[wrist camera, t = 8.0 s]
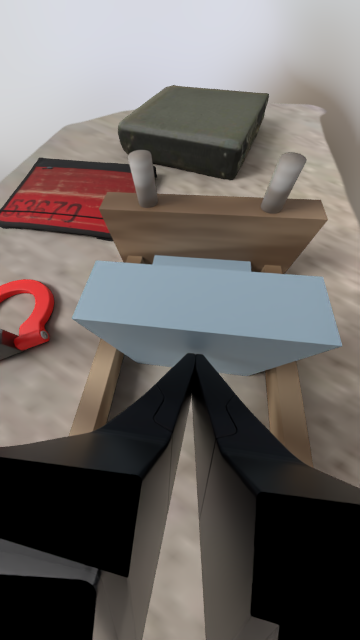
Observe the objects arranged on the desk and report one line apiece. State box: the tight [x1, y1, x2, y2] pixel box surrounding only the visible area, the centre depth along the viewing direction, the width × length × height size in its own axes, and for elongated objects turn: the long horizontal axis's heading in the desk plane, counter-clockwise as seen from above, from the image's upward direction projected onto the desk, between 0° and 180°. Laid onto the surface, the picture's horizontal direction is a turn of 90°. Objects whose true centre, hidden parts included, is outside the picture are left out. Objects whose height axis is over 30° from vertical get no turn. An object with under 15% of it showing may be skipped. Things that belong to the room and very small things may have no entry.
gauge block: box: [72, 255, 342, 376], centre depth 13 cm, size 11×10×10 cm
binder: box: [0, 158, 157, 241], centre depth 26 cm, size 16×2×21 cm
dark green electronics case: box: [118, 85, 269, 180], centre depth 31 cm, size 23×23×5 cm
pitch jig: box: [69, 150, 328, 468], centre depth 12 cm, size 22×18×10 cm
